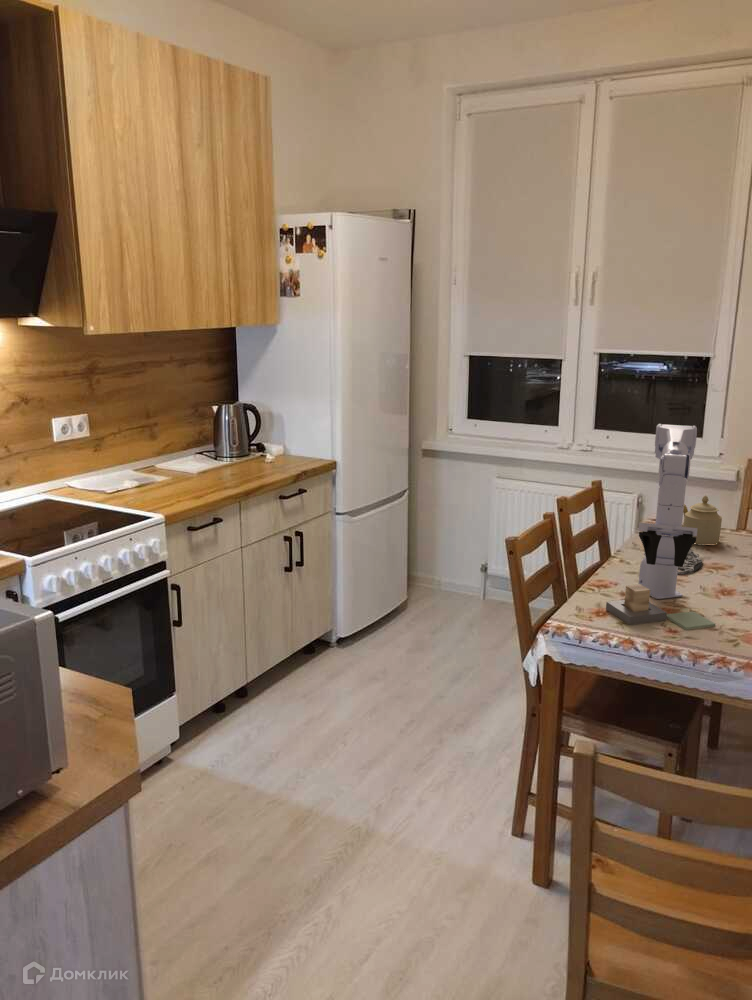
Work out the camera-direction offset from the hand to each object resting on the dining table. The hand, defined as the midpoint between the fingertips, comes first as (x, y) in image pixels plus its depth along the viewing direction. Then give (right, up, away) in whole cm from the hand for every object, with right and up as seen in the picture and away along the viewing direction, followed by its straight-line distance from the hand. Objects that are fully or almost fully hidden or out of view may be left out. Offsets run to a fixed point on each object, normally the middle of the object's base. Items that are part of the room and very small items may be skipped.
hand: (664, 565), depth 177 cm
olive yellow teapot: (+36, +2, +71) cm, 80 cm away
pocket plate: (-3, -13, +10) cm, 17 cm away
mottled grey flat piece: (+25, -4, +51) cm, 57 cm away
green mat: (+8, -14, +7) cm, 17 cm away
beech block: (-3, -13, +10) cm, 17 cm away
